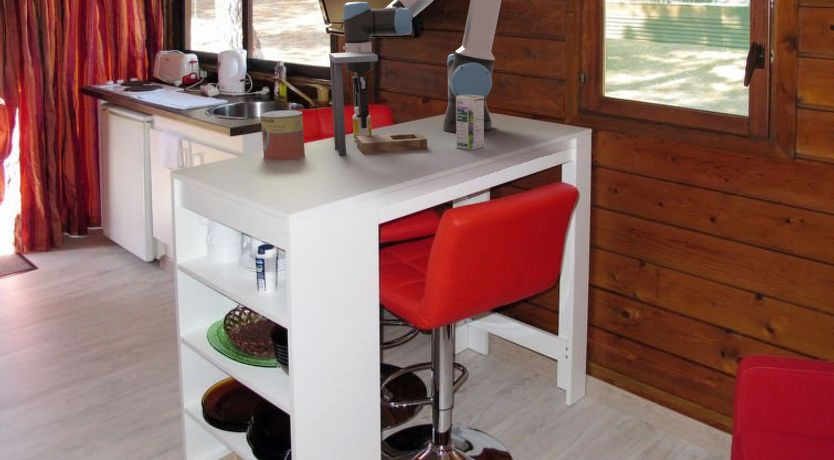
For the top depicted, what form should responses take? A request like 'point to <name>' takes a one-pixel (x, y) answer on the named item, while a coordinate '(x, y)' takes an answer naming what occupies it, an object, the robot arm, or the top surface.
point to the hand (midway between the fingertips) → (362, 136)
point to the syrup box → (469, 122)
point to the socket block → (391, 143)
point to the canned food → (282, 135)
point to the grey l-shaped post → (337, 92)
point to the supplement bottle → (356, 123)
